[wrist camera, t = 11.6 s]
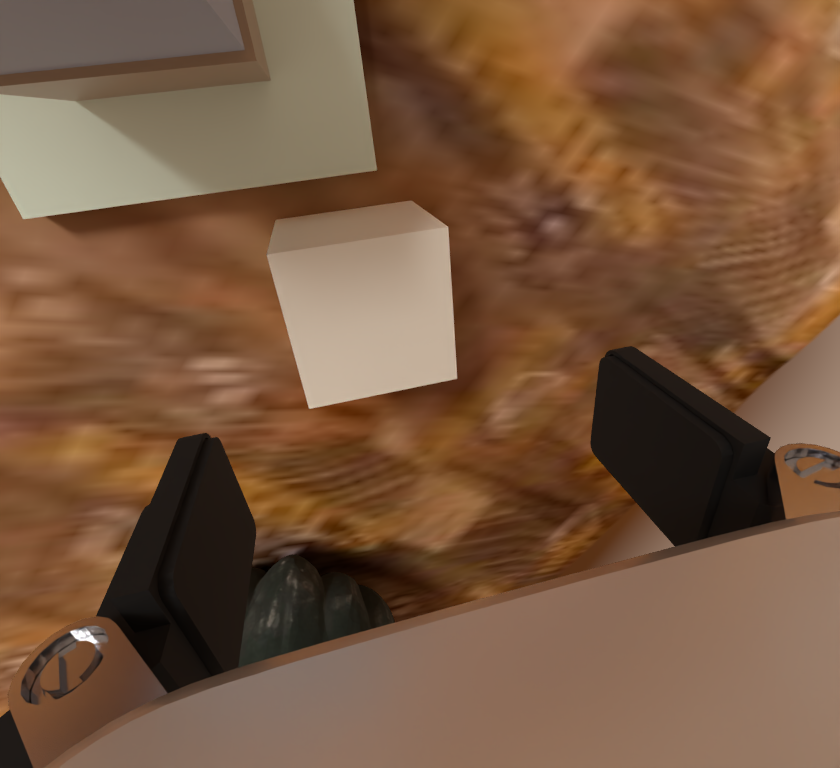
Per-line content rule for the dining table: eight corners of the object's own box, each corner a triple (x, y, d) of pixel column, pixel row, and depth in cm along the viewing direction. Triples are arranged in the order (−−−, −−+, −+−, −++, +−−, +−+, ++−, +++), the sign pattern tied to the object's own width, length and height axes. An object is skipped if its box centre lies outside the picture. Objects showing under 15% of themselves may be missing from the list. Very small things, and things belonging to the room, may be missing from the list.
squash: (310, 769, 33) (415, 956, 21) (87, 751, 27) (43, 1004, 14) (375, 572, 38) (492, 625, 26) (200, 517, 32) (241, 552, 19)
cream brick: (275, 219, 19) (266, 254, 14) (411, 200, 20) (448, 227, 15) (307, 343, 22) (309, 408, 17) (423, 322, 23) (457, 378, 18)
